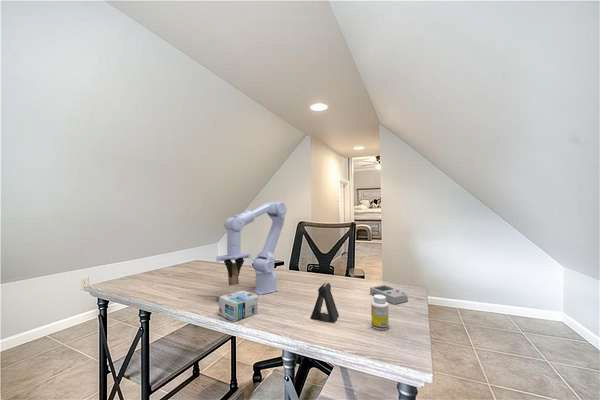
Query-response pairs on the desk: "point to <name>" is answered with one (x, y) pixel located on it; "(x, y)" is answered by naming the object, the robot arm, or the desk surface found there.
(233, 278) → the brown rectangular block
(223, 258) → the robot arm
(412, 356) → the desk surface
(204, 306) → the desk surface
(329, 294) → the black triangular stand
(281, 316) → the desk surface
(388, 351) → the desk surface
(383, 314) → the supplement bottle
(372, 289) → the handheld gaming device
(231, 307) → the light bulb box
